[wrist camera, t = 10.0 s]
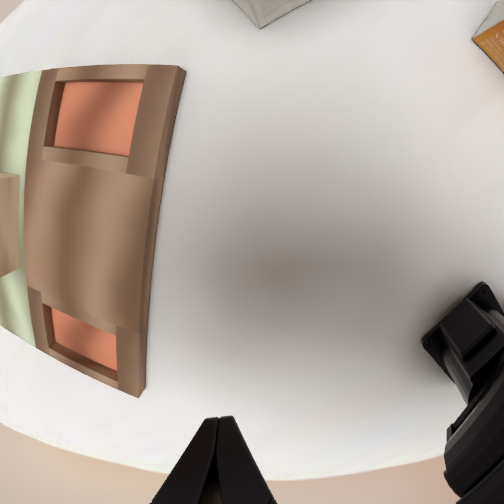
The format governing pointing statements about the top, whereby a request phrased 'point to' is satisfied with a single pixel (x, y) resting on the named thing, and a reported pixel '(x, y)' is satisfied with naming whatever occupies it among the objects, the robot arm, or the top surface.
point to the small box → (493, 35)
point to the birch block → (9, 223)
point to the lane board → (87, 210)
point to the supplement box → (267, 9)
